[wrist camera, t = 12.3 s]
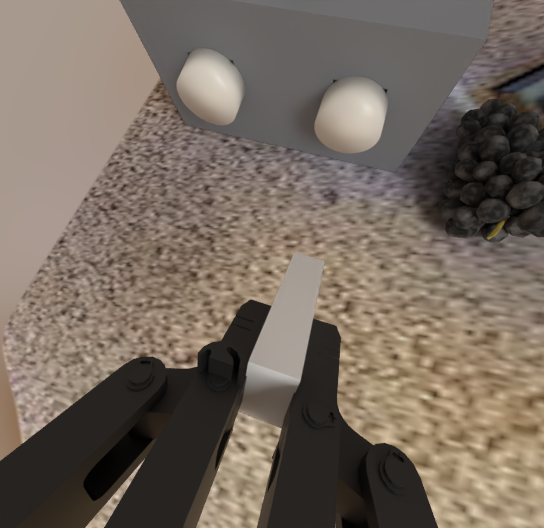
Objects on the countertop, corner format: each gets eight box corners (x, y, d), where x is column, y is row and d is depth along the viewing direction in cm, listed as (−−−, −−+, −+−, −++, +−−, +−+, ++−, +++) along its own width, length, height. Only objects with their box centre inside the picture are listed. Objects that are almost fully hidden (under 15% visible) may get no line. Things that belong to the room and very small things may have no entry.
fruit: (524, 24, 19) (531, 208, 16) (602, 69, 21) (623, 244, 17) (428, 111, 28) (418, 244, 24) (489, 138, 29) (488, 267, 26)
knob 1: (265, 67, 26) (259, 5, 21) (241, 130, 24) (228, 79, 19) (216, 58, 27) (199, -4, 22) (190, 118, 25) (165, 66, 20)
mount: (410, 109, 29) (504, -60, 16) (395, 172, 27) (486, 39, 14) (209, 70, 32) (155, -97, 19) (185, 124, 30) (110, -18, 18)
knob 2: (387, 90, 24) (413, 29, 19) (369, 158, 23) (392, 111, 18) (332, 80, 25) (343, 18, 20) (312, 146, 24) (317, 97, 18)
